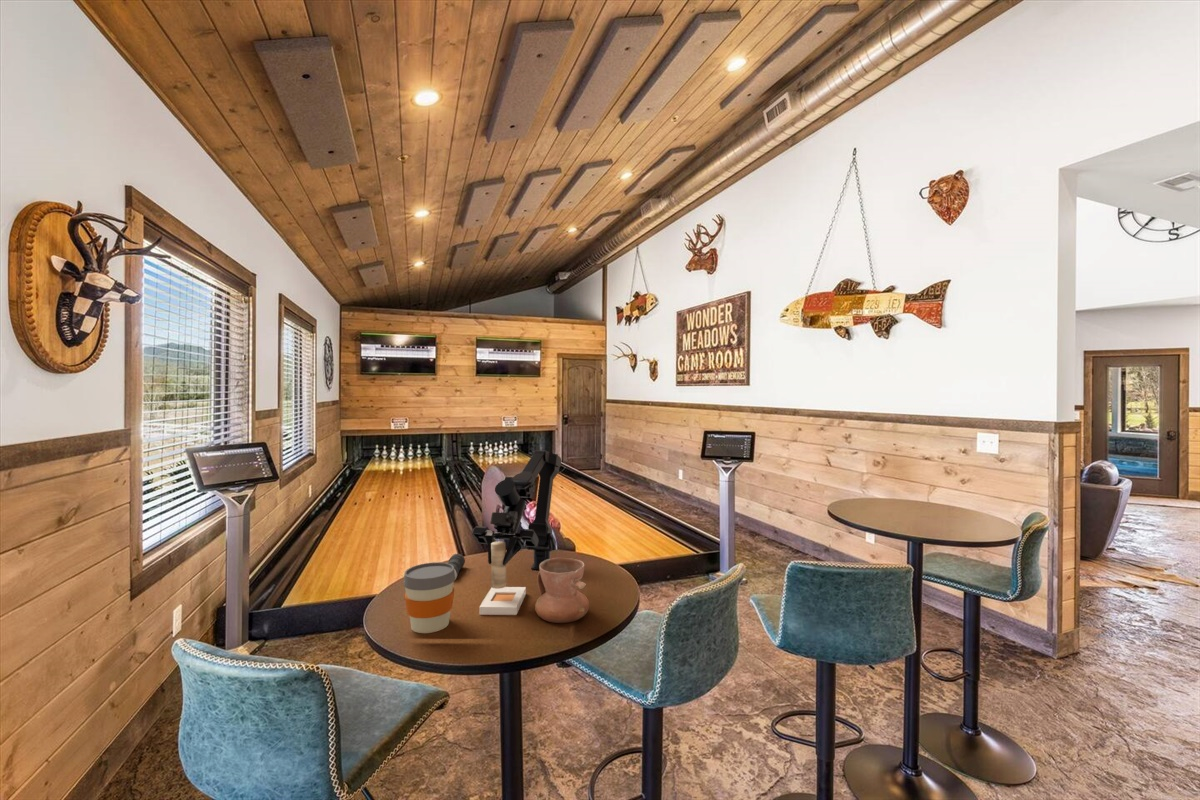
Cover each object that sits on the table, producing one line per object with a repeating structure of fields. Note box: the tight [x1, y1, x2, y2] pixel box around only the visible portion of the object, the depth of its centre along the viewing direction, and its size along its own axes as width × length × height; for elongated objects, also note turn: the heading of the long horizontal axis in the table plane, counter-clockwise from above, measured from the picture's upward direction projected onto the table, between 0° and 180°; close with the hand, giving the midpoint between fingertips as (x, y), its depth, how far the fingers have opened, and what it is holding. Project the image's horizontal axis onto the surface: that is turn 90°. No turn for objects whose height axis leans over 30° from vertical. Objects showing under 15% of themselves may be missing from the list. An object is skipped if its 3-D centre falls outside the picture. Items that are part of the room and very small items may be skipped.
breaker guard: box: [478, 586, 527, 616], centre depth 144 cm, size 14×10×3 cm
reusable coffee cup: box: [403, 561, 456, 634], centre depth 131 cm, size 13×13×15 cm
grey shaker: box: [447, 553, 466, 580], centre depth 170 cm, size 15×5×5 cm, turn 4°
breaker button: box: [493, 595, 515, 601], centre depth 144 cm, size 5×5×2 cm
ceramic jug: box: [534, 557, 590, 624], centre depth 138 cm, size 18×14×14 cm
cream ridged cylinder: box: [490, 540, 507, 589], centre depth 144 cm, size 4×4×12 cm
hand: (496, 564), depth 143 cm, fingers closed on cream ridged cylinder, 4 cm apart
